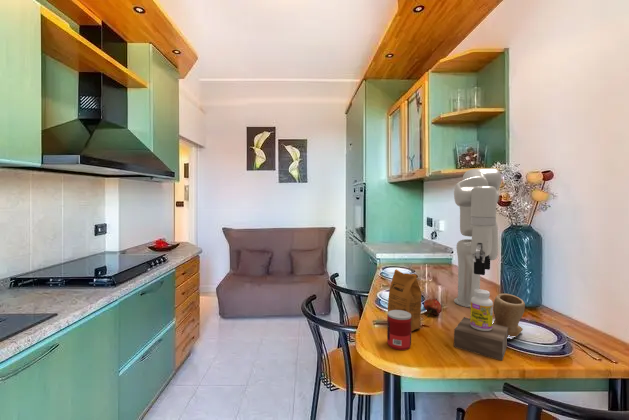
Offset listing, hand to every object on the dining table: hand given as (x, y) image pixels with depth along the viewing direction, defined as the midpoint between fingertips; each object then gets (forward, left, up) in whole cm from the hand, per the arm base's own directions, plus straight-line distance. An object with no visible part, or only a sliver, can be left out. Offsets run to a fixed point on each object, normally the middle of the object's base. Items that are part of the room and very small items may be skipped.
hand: (482, 271), depth 101 cm
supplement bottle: (0, 0, -20) cm, 20 cm away
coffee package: (+2, -27, -26) cm, 37 cm away
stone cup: (-16, +6, -26) cm, 31 cm away
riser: (0, 0, -26) cm, 26 cm away
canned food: (+18, -22, -26) cm, 39 cm away
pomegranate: (-18, -22, -26) cm, 38 cm away
